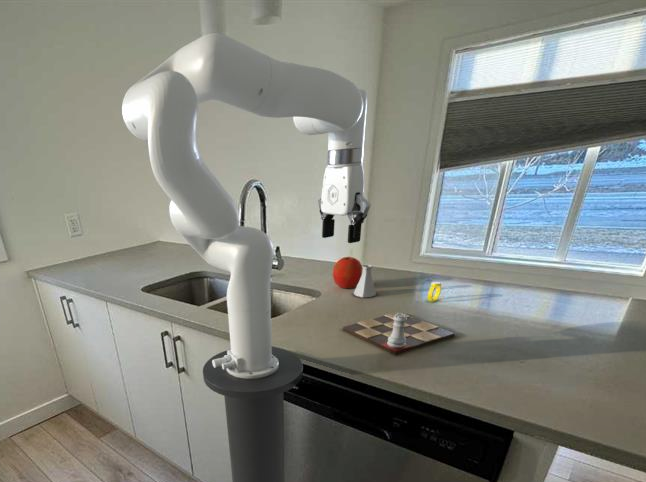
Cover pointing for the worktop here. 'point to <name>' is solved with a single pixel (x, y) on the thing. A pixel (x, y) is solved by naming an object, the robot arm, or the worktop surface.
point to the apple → (347, 272)
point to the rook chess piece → (398, 332)
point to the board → (414, 333)
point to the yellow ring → (431, 290)
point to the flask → (365, 283)
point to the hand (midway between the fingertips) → (340, 239)
